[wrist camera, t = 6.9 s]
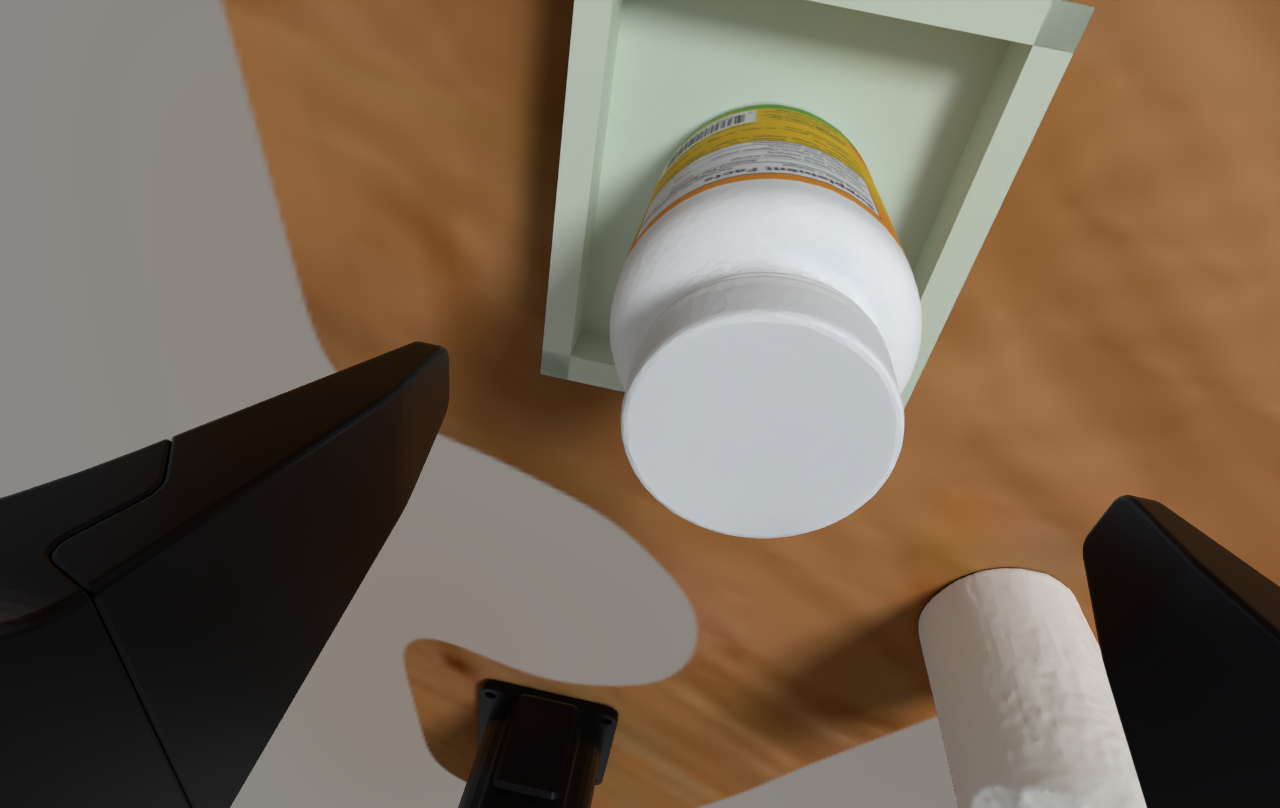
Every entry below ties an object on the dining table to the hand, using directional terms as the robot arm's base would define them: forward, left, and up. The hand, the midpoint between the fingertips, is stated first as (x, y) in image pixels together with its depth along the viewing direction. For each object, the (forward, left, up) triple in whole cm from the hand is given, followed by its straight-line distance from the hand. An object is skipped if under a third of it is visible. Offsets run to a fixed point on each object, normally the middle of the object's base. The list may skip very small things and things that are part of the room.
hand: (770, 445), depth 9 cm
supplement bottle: (0, 0, -10) cm, 10 cm away
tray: (0, 0, -11) cm, 11 cm away
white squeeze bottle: (-14, -12, -11) cm, 22 cm away
